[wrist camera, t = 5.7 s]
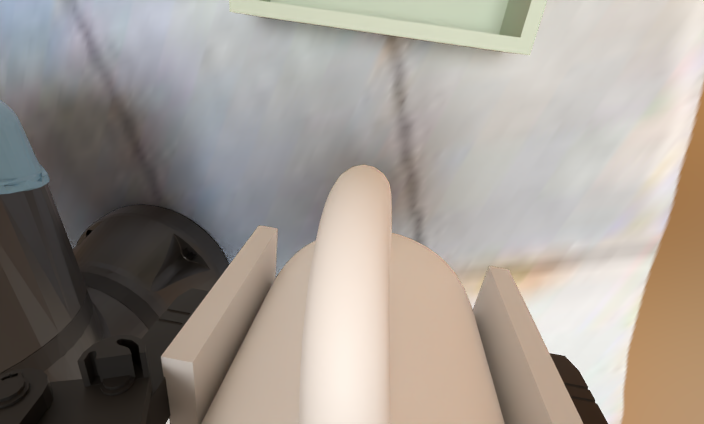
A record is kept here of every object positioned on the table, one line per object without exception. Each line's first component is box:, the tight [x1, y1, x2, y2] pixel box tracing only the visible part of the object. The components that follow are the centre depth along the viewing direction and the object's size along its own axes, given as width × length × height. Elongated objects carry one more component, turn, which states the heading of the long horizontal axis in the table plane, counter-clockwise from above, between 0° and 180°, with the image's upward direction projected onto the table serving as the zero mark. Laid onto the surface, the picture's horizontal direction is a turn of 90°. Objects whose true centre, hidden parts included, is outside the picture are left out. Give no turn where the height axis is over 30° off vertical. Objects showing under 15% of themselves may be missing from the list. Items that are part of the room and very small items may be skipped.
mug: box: [201, 165, 505, 424], centre depth 10 cm, size 12×8×10 cm
